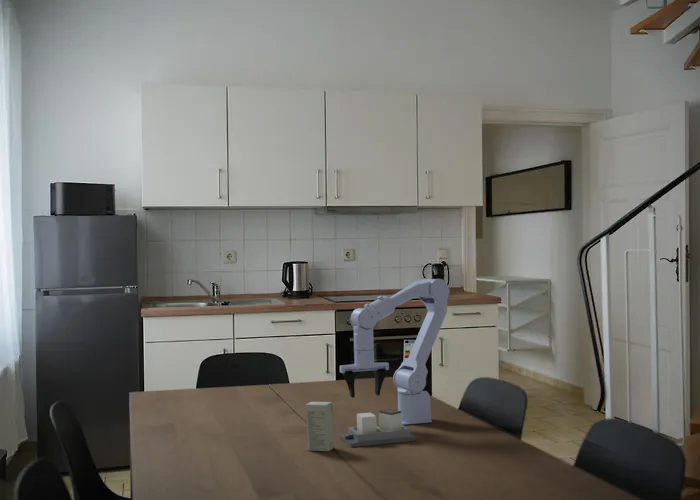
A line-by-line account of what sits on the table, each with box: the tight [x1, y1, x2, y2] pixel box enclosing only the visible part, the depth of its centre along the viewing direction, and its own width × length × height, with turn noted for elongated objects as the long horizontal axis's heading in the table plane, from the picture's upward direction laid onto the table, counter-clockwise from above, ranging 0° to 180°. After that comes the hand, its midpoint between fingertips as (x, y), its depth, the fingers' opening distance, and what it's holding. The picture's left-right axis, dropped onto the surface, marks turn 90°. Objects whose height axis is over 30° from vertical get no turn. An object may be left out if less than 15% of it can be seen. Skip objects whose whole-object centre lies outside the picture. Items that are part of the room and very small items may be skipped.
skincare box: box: [304, 401, 335, 452], centre depth 199 cm, size 6×4×12 cm
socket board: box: [340, 412, 416, 448], centre depth 207 cm, size 18×10×7 cm, turn 106°
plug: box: [378, 408, 402, 431], centre depth 208 cm, size 4×5×6 cm
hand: (365, 395), depth 221 cm, fingers open, 7 cm apart
